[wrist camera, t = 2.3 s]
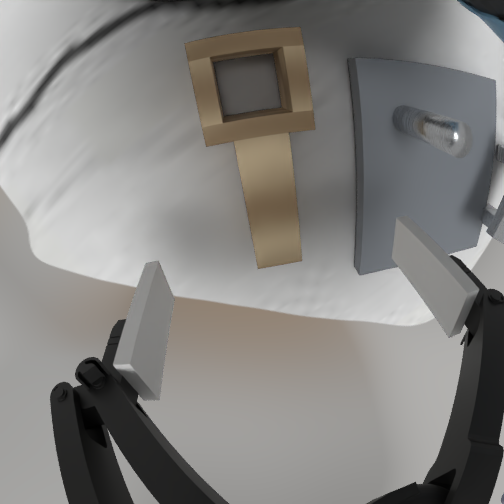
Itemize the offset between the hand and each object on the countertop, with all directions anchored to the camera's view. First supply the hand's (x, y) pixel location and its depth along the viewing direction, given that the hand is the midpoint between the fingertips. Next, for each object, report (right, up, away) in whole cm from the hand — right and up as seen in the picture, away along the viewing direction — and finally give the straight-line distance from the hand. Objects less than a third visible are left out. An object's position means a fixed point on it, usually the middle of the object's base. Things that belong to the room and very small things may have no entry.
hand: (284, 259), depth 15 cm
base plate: (+16, +9, +8) cm, 19 cm away
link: (-1, +8, +6) cm, 10 cm away
